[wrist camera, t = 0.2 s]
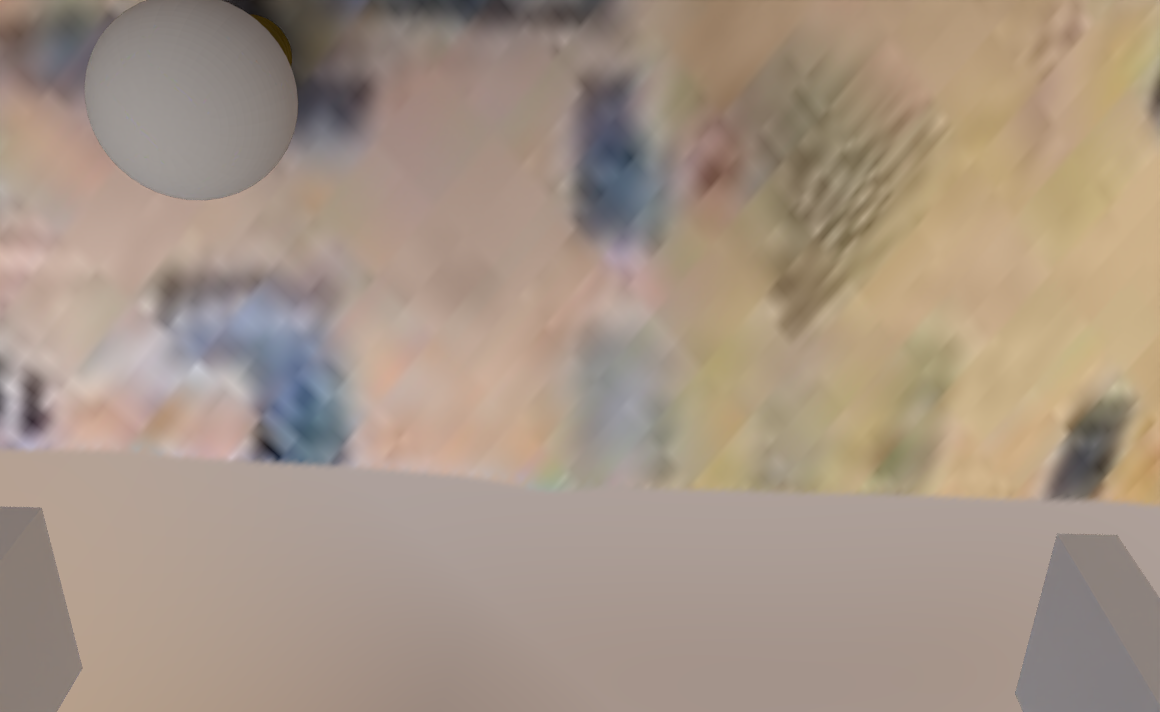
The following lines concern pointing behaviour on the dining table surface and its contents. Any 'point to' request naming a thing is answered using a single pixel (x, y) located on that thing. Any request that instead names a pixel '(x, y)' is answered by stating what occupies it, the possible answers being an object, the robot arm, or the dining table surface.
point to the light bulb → (192, 96)
